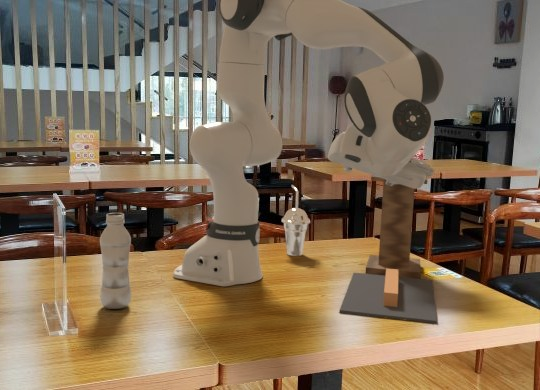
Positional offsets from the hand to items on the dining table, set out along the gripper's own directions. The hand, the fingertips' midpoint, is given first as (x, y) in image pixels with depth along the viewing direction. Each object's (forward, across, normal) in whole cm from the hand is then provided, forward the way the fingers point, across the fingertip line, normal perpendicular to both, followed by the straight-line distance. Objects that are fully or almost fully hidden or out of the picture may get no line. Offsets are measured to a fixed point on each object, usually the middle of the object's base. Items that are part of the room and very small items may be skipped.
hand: (368, 175), depth 127 cm
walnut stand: (+37, -19, +9) cm, 43 cm away
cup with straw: (+53, +7, +10) cm, 54 cm away
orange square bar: (+18, -15, +19) cm, 31 cm away
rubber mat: (+18, -15, +20) cm, 31 cm away
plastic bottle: (+11, +42, +42) cm, 61 cm away
